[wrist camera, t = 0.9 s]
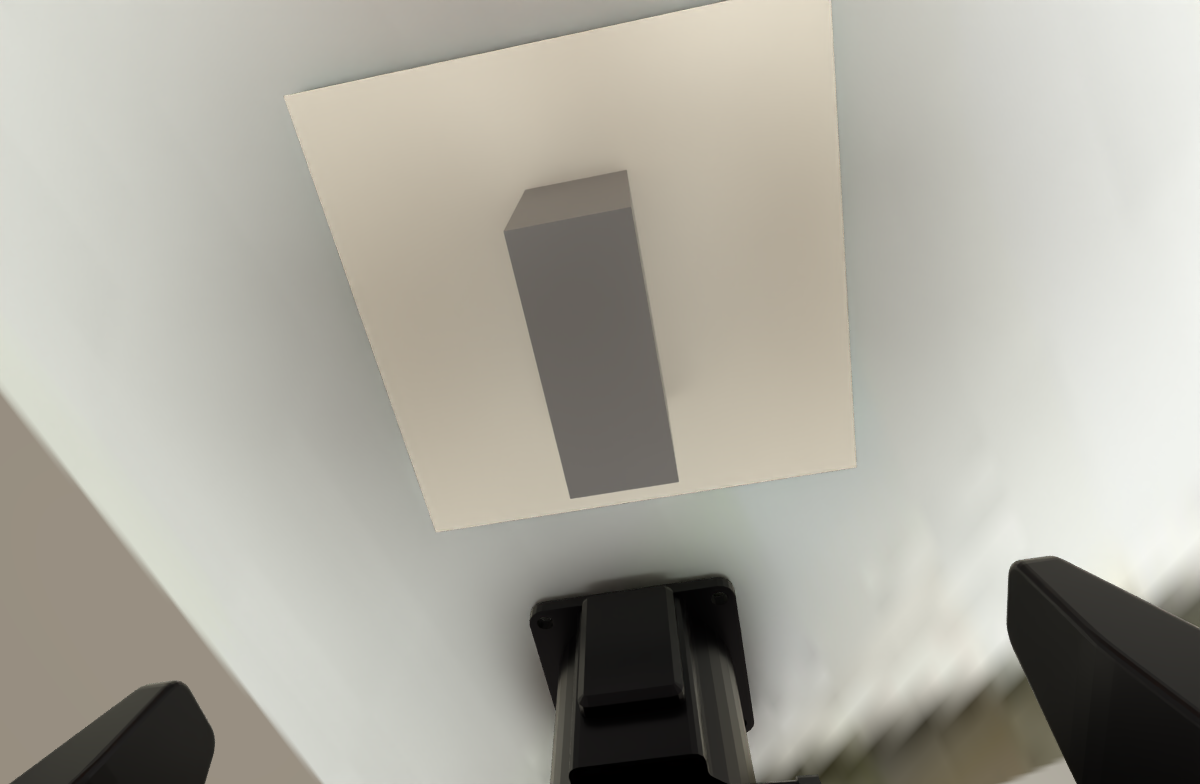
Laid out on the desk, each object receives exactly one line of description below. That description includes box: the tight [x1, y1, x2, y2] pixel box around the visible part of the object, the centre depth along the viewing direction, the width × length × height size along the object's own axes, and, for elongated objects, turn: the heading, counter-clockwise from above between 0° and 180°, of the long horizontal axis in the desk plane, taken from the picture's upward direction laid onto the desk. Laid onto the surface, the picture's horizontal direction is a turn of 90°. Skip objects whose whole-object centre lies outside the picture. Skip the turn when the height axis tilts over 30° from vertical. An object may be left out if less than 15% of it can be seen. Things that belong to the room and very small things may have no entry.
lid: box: [284, 0, 856, 532], centre depth 17 cm, size 12×12×5 cm
